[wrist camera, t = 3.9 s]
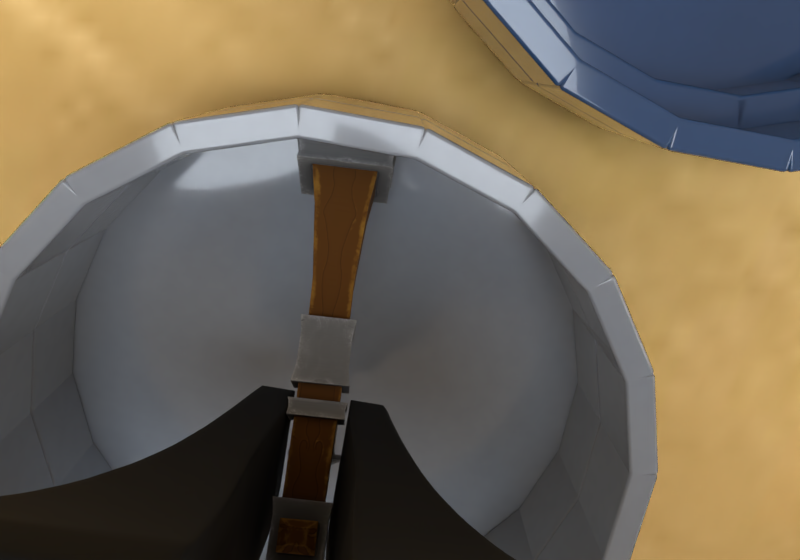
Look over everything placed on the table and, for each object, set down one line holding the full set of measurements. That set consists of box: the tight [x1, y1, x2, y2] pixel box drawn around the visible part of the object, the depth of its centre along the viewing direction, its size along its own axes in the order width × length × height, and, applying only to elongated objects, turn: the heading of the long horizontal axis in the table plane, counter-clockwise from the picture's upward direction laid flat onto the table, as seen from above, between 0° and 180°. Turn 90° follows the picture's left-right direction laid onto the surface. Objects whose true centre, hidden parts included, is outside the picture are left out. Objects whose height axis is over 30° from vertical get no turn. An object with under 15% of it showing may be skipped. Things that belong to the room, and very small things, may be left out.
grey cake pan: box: [0, 94, 658, 560], centre depth 14 cm, size 12×12×4 cm
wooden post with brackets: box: [265, 138, 396, 560], centre depth 13 cm, size 2×8×4 cm
